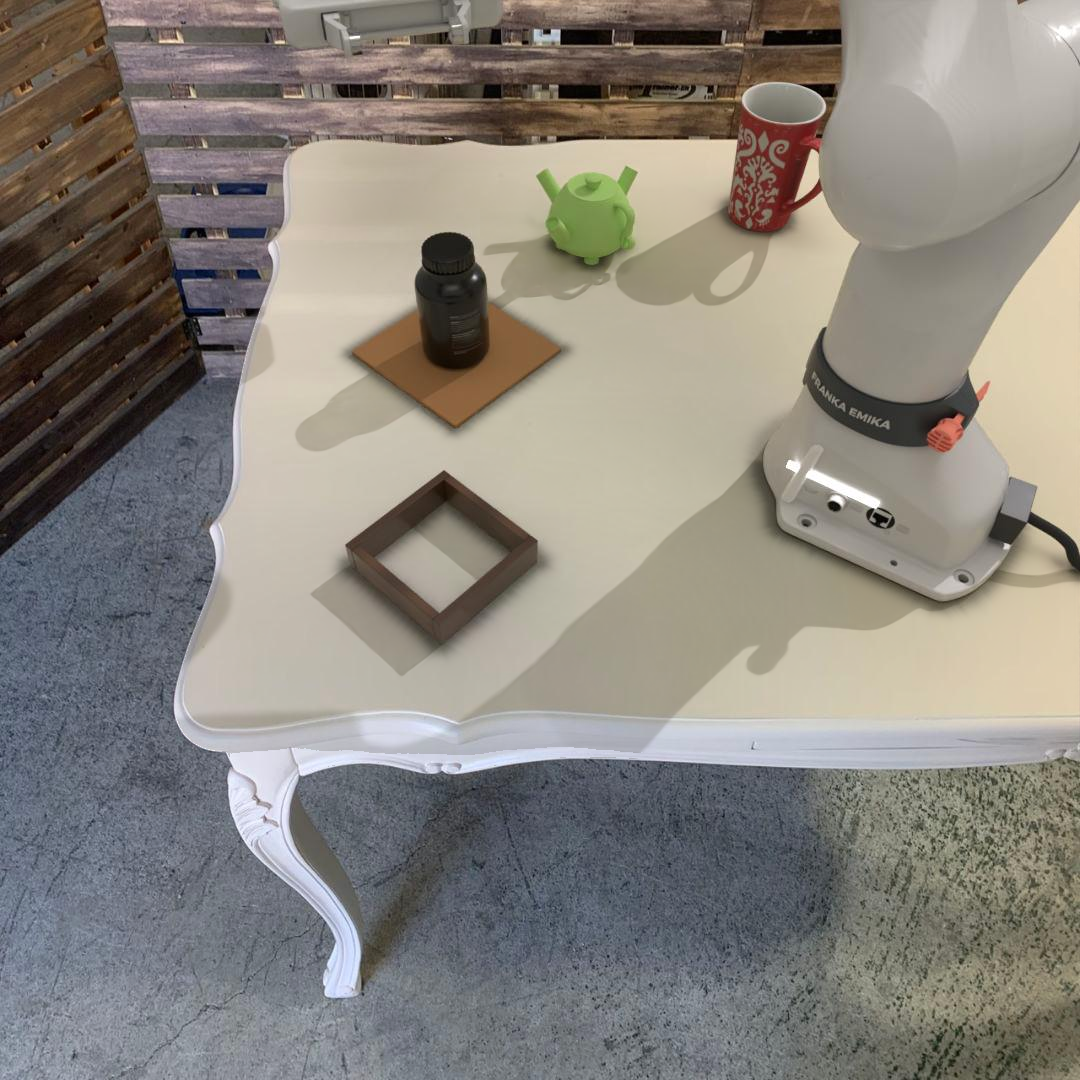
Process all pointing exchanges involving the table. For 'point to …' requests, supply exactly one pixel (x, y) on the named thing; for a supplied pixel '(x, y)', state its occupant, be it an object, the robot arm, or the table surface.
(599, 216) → the teapot
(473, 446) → the table surface
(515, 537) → the frame
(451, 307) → the supplement bottle
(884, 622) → the table surface
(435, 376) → the cork mat
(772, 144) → the mug
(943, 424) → the robot arm
